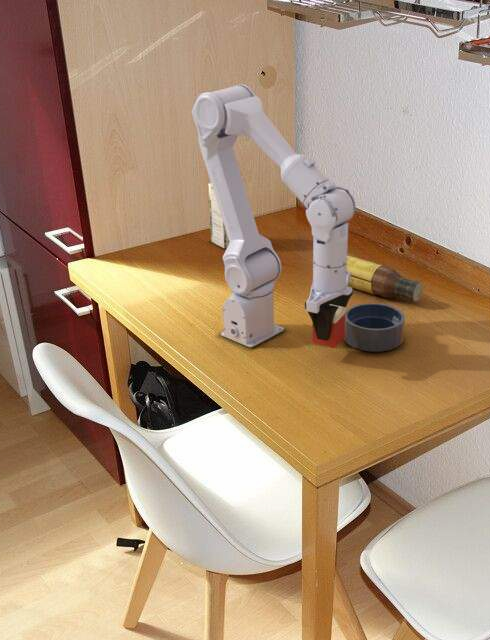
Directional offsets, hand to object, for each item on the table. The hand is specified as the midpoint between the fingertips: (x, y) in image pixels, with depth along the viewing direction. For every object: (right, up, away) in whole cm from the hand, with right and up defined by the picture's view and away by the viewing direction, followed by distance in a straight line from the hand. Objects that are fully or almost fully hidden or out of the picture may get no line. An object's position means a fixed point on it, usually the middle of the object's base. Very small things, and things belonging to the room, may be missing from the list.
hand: (328, 333), depth 147 cm
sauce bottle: (+2, +17, +30) cm, 34 cm away
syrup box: (-24, +25, +49) cm, 60 cm away
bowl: (+8, -1, +9) cm, 12 cm away
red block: (0, -1, +1) cm, 1 cm away
